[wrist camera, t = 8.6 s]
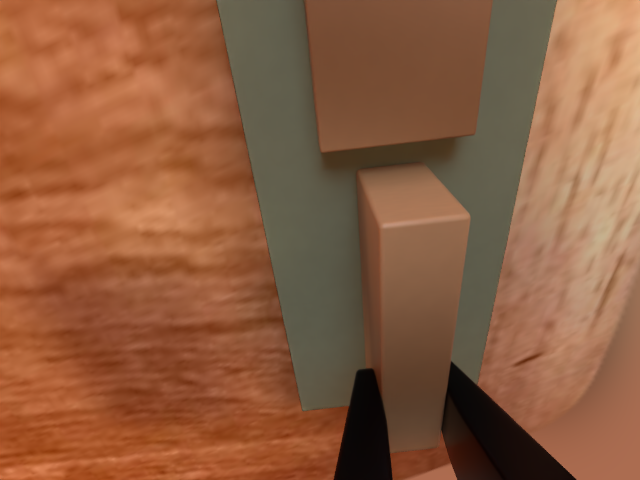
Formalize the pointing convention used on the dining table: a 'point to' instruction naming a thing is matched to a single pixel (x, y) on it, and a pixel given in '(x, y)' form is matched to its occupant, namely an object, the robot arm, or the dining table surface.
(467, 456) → the robot arm
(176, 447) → the dining table surface
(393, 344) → the beige slabs
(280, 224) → the mat
